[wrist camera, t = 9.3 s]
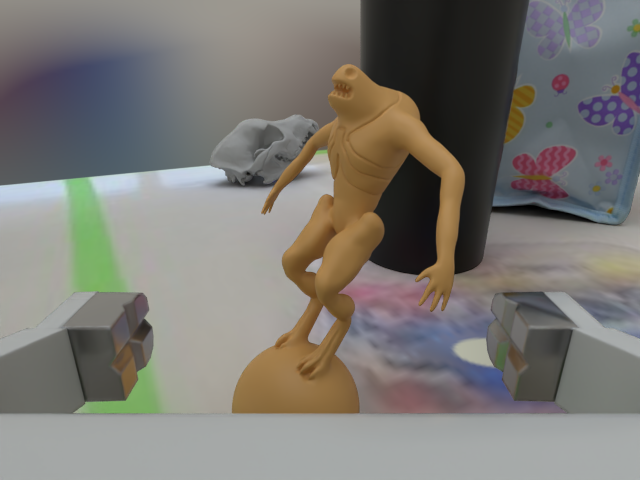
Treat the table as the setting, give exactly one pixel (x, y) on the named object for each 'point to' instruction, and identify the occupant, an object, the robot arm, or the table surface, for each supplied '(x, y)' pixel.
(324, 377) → the figurine
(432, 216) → the water bottle
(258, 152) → the skull
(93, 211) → the table surface
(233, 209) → the table surface
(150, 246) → the table surface
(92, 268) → the table surface
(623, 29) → the lunch bag
